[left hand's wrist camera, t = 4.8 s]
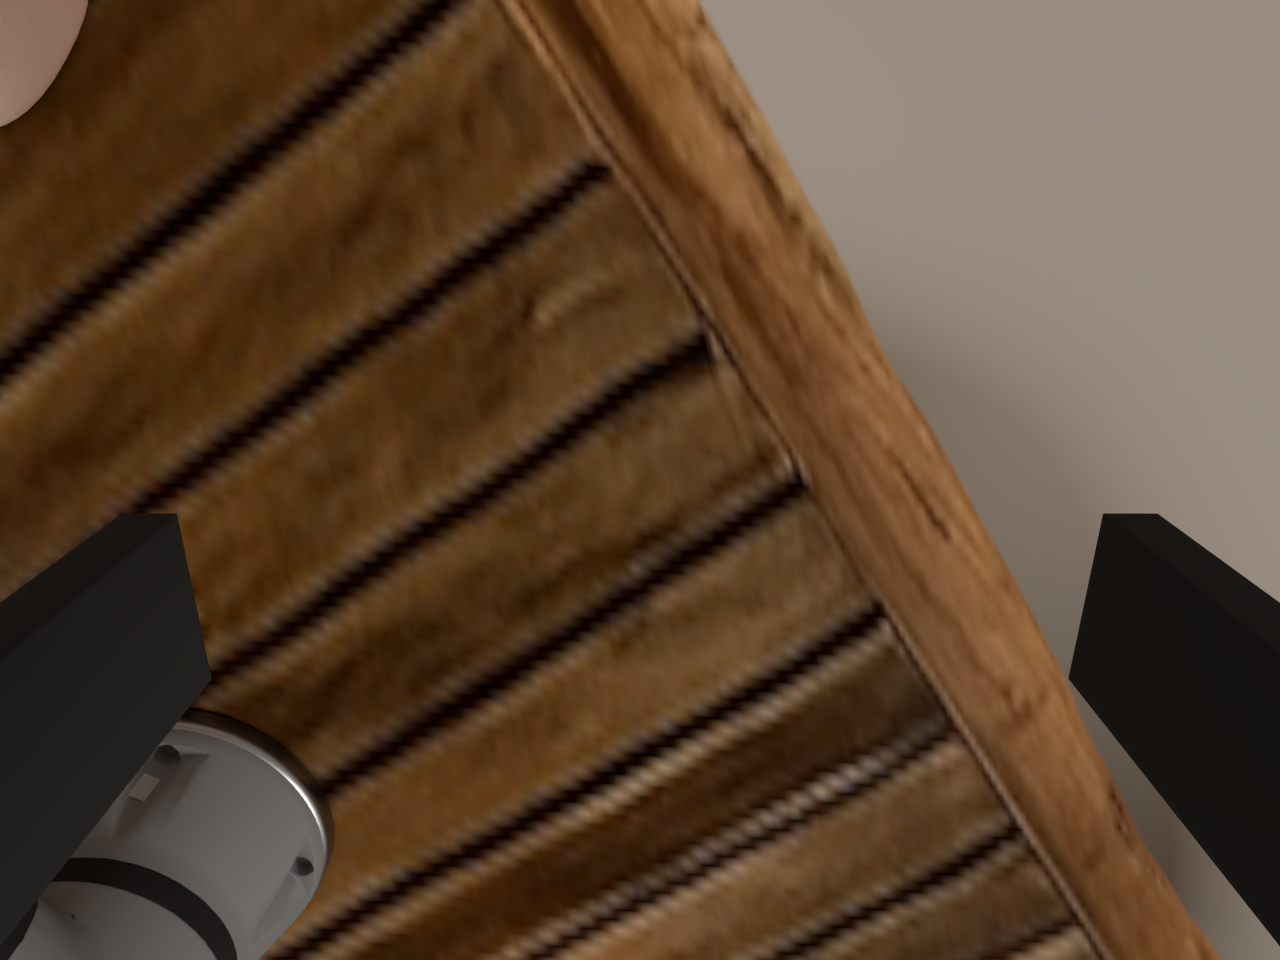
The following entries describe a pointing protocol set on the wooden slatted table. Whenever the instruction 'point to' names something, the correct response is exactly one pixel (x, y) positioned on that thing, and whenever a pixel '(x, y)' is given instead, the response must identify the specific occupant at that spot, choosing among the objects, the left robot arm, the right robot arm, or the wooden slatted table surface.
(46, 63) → the anatomical model
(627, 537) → the wooden slatted table surface
